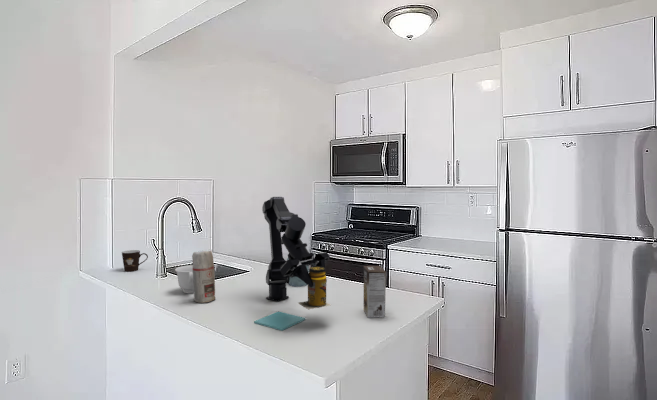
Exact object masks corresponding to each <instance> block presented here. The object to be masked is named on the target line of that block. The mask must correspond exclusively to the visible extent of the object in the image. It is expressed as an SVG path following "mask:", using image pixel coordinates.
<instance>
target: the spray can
mask: <svg viewBox="0 0 657 400" xmlns="http://www.w3.org/2000/svg"><path fill="white" fill-rule="evenodd" d="M191 258H192V265H193V285H194V293H193V297H194V302H195V303H198V304H199V303H200V304H202V303H203V304H204V303H209V302H210V303H211V302H212V301H214V300H216V284H215V283H216V278H215V276H216V275H215V274H216V273H215V264H214V256H213V250H212V249H204V250H198V251H193V253H192V255H191Z"/></svg>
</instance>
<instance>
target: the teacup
mask: <svg viewBox="0 0 657 400" xmlns="http://www.w3.org/2000/svg"><path fill="white" fill-rule="evenodd" d="M174 271H175V272H176V276H177V277H176V278H177V281H178V286H179V288H180V289H182V290H183V293H184V294H194V285H193V264H191V265H189V264H188V265H181V266H179V267H176V268H175V269H174Z"/></svg>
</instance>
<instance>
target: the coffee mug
mask: <svg viewBox="0 0 657 400" xmlns="http://www.w3.org/2000/svg"><path fill="white" fill-rule="evenodd" d="M143 255H145V256H146V258H145V259H144V260H143V261H142V262H140V258H141V256H143ZM121 257H122V264H123V268H124V272H125V273H133V272H138V271H139V266H140V265H141V264H143V263H145V262H146V261H147V260H148V258H149V256H148V254H147V253H145V252H143V253H141V250H137V249H131V250H130V249H129V250H124V251H121Z"/></svg>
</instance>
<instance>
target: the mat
mask: <svg viewBox="0 0 657 400" xmlns="http://www.w3.org/2000/svg"><path fill="white" fill-rule="evenodd" d="M303 321H306V317H303V316H301V315H295V314H290V313H286V312H283V311H276V312H274V313H271V314H269V315H266V316H264V317H261V318H259V319H256V320H253V323H254V324H256V325H260V326H264V327H267V328H271V329H275V330H279V331H282V332H283V331H284V330H287V329H289V328H291V327H293V326H294V325H298V324H299V323H302V322H303Z"/></svg>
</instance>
